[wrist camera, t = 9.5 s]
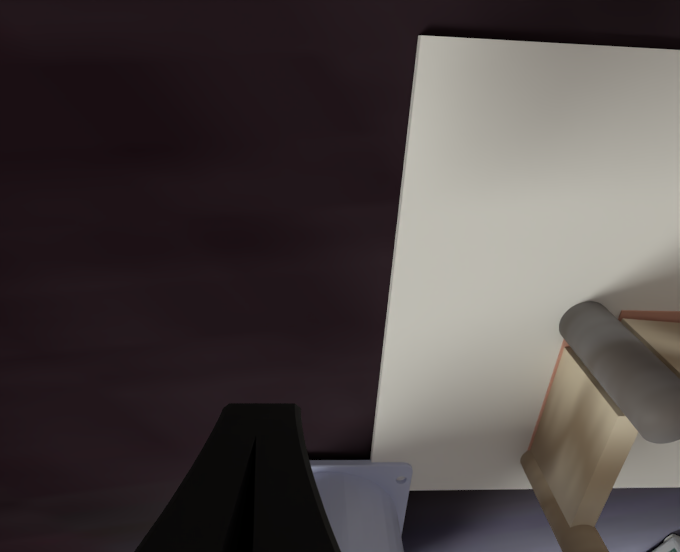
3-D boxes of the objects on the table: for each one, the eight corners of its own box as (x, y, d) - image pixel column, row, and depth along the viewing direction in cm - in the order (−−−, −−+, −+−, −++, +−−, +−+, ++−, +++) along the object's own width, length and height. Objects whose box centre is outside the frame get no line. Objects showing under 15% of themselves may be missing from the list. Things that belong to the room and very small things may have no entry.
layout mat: (743, 480, 25) (750, 487, 25) (367, 483, 24) (368, 492, 23) (1010, 68, 16) (1028, 69, 16) (418, 35, 14) (421, 35, 14)
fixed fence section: (552, 469, 23) (614, 583, 19) (512, 469, 23) (564, 585, 19) (614, 301, 19) (716, 395, 14) (566, 300, 19) (652, 394, 14)
